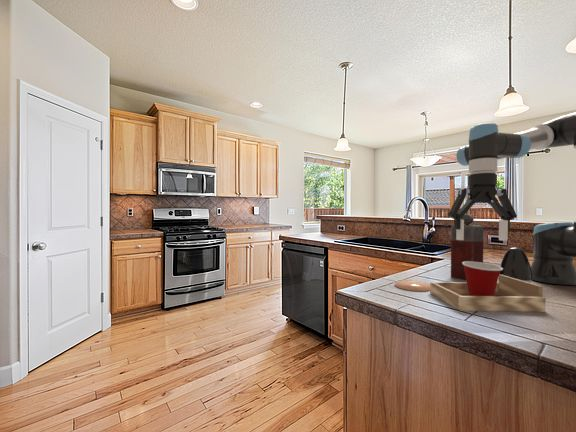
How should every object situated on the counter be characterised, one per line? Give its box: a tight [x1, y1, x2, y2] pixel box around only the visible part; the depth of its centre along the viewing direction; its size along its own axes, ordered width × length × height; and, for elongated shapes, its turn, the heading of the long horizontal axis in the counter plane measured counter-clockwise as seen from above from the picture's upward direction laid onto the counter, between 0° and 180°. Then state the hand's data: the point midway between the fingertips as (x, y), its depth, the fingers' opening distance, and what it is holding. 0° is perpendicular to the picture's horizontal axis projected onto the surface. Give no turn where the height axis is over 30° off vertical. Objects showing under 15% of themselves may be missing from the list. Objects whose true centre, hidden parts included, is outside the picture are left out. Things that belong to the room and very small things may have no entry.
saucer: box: [394, 279, 430, 292], centre depth 108 cm, size 13×13×1 cm
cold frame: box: [429, 275, 546, 313], centre depth 89 cm, size 24×18×7 cm
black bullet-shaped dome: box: [499, 246, 533, 283], centre depth 109 cm, size 10×10×15 cm
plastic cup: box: [462, 261, 503, 296], centre depth 89 cm, size 11×11×12 cm
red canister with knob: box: [450, 213, 484, 281], centre depth 120 cm, size 9×11×28 cm
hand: (481, 240), depth 89 cm, fingers open, 13 cm apart
